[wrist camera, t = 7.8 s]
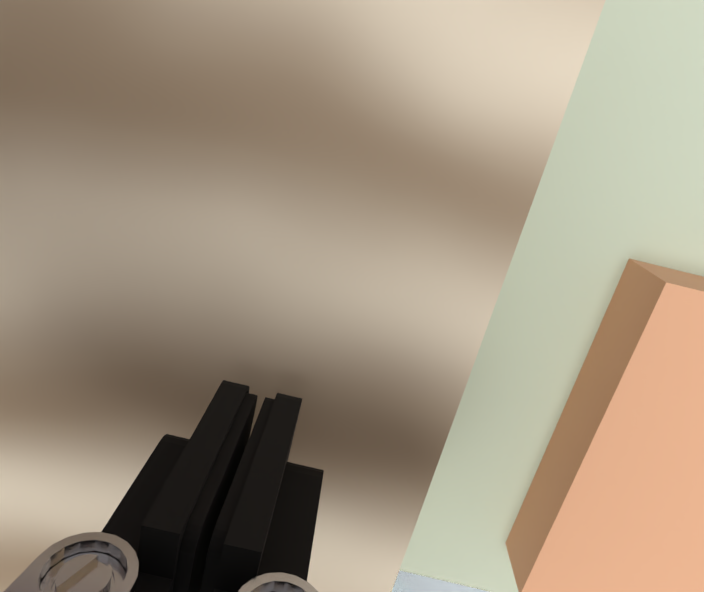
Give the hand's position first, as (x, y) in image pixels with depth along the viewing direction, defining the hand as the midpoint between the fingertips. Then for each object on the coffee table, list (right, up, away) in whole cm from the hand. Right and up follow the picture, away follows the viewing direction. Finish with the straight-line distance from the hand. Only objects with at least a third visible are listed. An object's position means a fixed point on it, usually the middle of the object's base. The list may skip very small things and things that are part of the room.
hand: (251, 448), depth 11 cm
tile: (+12, -2, +3) cm, 12 cm away
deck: (-2, +2, +5) cm, 6 cm away
